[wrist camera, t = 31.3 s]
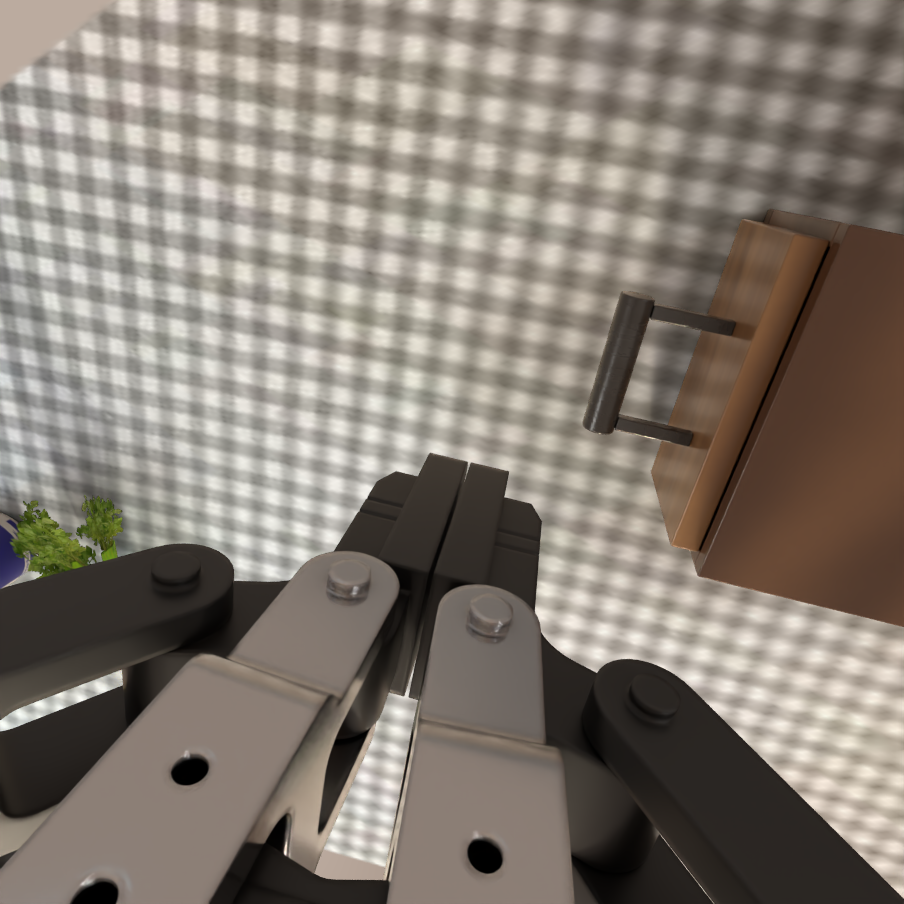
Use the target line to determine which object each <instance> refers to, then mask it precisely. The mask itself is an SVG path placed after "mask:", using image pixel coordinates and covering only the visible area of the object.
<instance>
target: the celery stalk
mask: <svg viewBox="0 0 904 904" xmlns="http://www.w3.org/2000/svg"><path fill="white" fill-rule="evenodd" d="M84 496H85V495H84ZM85 499H86V496H85ZM100 500H101V499H100V497H99V495H98V497H97V499H96V500H95V498H94V497H93V500H92V499H90V502H89V501H88V500H87V499H86V502H85V503H86V504H87V505H88V506H89V507H88V506H87V505H86V504H85V503H83V505H82V511H84V512H85V511H86V508H87V507H88V508H89V509H90V508H91V509H90V511H91V513H92V516H93V514H94V513H93V510H94V512H95V514H94V517H93V518H92V517H91V515H90V513H89V509H88V511H87V516H88V514H89V516H88V518H87V519H86V521H87V526H85V525H81V529H80V528H79V527H78V528H77V532H78V533H79V534H78V533H76V535H77V536H80V537H81V539H82V535H81V534H82V533H85V534H87V535H88V536H86V537H87V538H90V537H91V538H93V539H92V540H94V541H96V542H95V543H94V545H95V546H97V540H98V541H99V542H98V543H99V544H100V546H101V550H102V551H103V550H104V551H103V552H102V553H101V556H102V560H103V561H106V560H110V559H113V558H117V557H118V556H117V551H116V545H115V540H113V539H110V537H111V538H113V537H112V535H113V536H117V534H116V533H118V532H122V531H123V528H121V527H120V526H121V522H122V519H123V518H122V517H121V518H118V516H117V515H114V514H115V513H117V514H120V512H122V510H120V509H116V510H115V509H114V504H112V501H111V499H110V502H109V500H107V502H105V500H103V498H102V500H101V501H102V503H101V504H100ZM93 501H94V502H93ZM23 503H24V505H26V506H27V511H28V512H27V511H25V512H24V513H23V514H24V516H21V515H19V516H20V518H21V519H22V520H23V521H20V522H19V523H18V524H17V525H16V526H17V528H18V530H19V532H18V533H16V534H17V535H18V540H16V539H14V538H13V539H11V540H12V541H13V542H14V543H13V542H10V544H11V545H12V546H13V547H16V548H13V550H14V552H15V553H16V554H19V555H20V556H19V555H17V557H19V558H23V557H24V558H26V559H28V560H29V558H27V557H26V556H25V555H27V554H28V553H29V552H28V553H27V552H25V551H30V552H31V553H30V554H32V555H33V556H34V557H31V558H32V559H33V560H29V561H30V564H29V567H28V568H29V569H28V571H31V570H32V571H35V572H37V571H38V572H40V574H41V573H42V572H43V574H42V576H40V577H39V578H42V577H46V576H49V575H53V574H57V573H61V572H65V571H68V570H72V569H76V568H80V567H83V566H87V565H88V562H89V560H88V558H89V557H91V556H92V559H93V560H94V561H95V563H97V562H96V560H95V556H96V553H95V550H93V554H92V549H91V548H90V547H88V546H86V549H85V547H83V546H81V547H80V544H78V539H75V540H71V539H69V538H68V537H70V536H71V535H72V533H65V531H62V530H63V529H61V528H60V529H58V530H56V528H57V527H59V524H57V522H55V521H54V520H51V519H50V518H51V517H48V516H49V515H48V513H47V511H45V509H43V511H42V513H39V512H40V510H36V511H33V508H34V507H37V506H38V501H36V500H35V501H31V506H30V504H29V503H28V504H29V505H27V504H26V503H25V502H24V501H23ZM94 503H95V504H94ZM31 509H32V511H31ZM105 509H107V510H106V512H105ZM111 510H112V511H111ZM33 512H36V513H37V515H39V517H40V518H37V517H36V515H34V514H33V515H32V513H33ZM112 513H113V514H112ZM111 515H112V516H114V520H115V521H113V520H112V516H111ZM110 516H111V517H110ZM24 517H25V518H26V519H27V520H25V518H24ZM116 517H117V518H116ZM33 520H35V522H33ZM36 520H37V521H36ZM110 521H111V522H110ZM112 521H113V523H112ZM54 523H55V524H54ZM51 526H52V527H51ZM89 529H90V530H89ZM116 529H117V530H116ZM115 531H116V532H115ZM43 532H44V533H43ZM105 537H106V539H104V538H105ZM104 540H106V541H104ZM110 540H111V541H110ZM108 541H109V544H108ZM106 542H107V544H106ZM68 543H69V544H68ZM24 552H25V553H26V554H25V555H24V554H23V553H24ZM35 553H36V554H38V553H39V554H38V556H37V555H36V554H35ZM22 555H23V556H22ZM28 555H29V554H28ZM92 559H91V560H92ZM90 562H91V561H90ZM90 562H89V563H90ZM40 563H41V564H40ZM44 564H45V565H44ZM89 565H91V564H89ZM43 566H46V567H45V570H44V569H43ZM54 567H55V569H54ZM48 570H50V571H48ZM44 572H45V573H44ZM50 572H51V573H50ZM47 574H48V575H47ZM36 579H38V578H36Z"/></svg>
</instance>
